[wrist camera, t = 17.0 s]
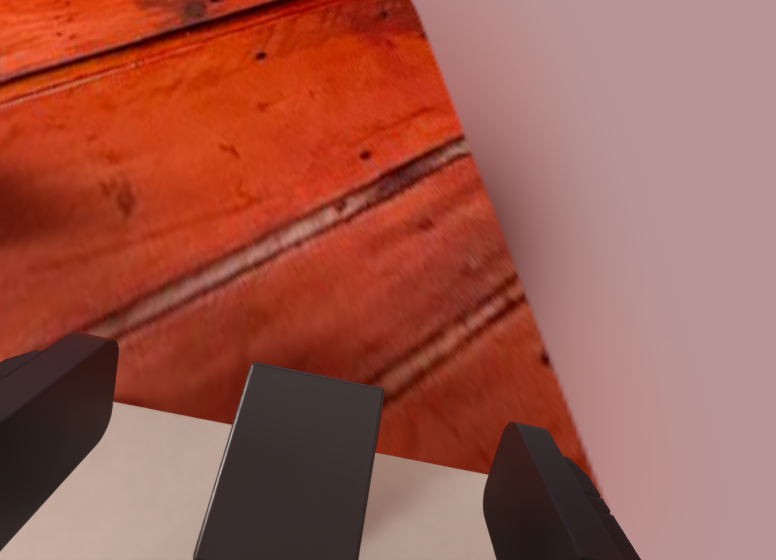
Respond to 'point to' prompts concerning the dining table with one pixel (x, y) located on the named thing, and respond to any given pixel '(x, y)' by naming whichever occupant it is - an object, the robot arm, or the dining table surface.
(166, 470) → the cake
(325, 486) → the knife
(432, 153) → the dining table surface
